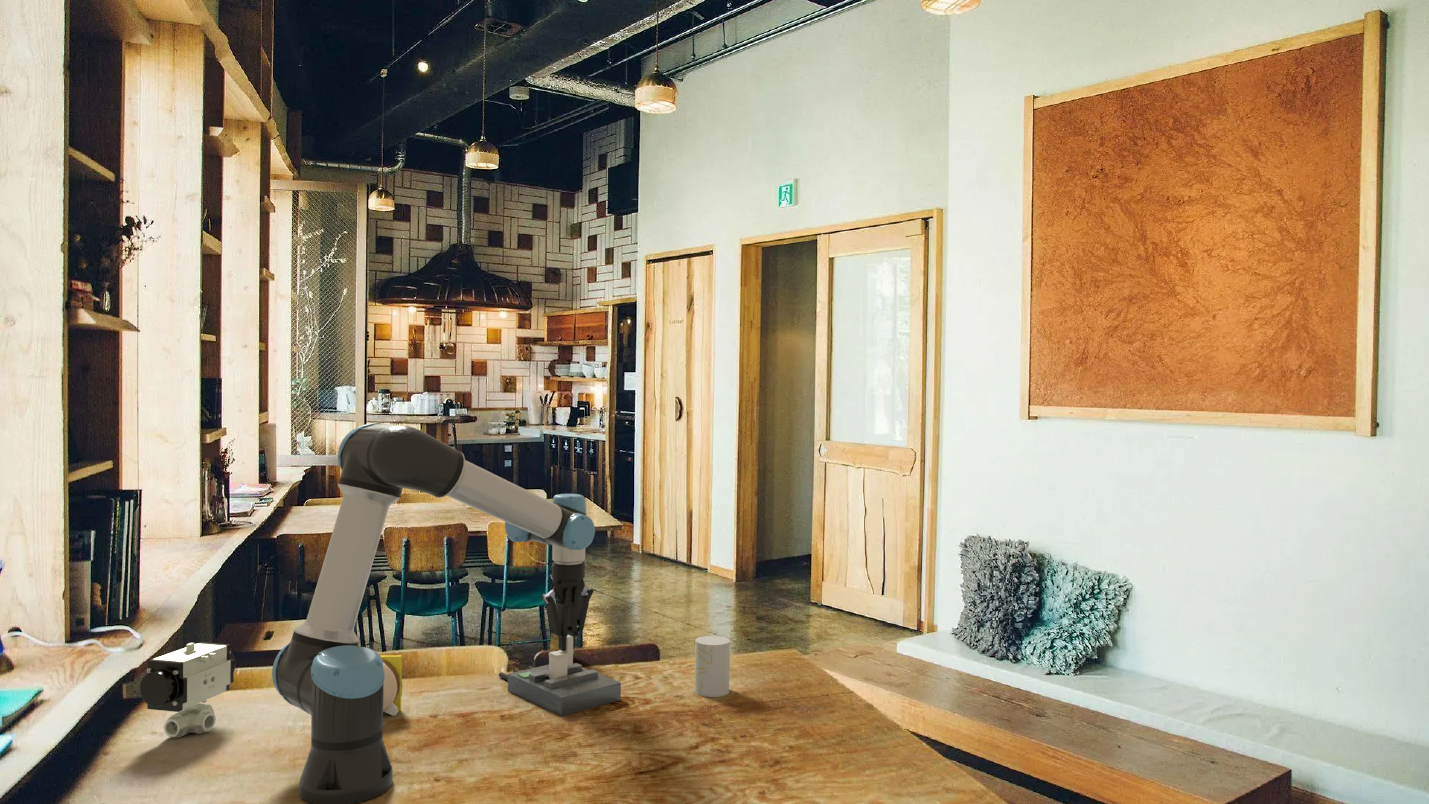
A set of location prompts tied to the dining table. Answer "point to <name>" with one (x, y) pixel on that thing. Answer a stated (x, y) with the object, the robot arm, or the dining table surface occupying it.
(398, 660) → the yellow block with disc
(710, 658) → the white cylinder
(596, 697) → the grey slider base
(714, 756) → the dining table surface
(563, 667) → the lever
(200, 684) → the ball valve
